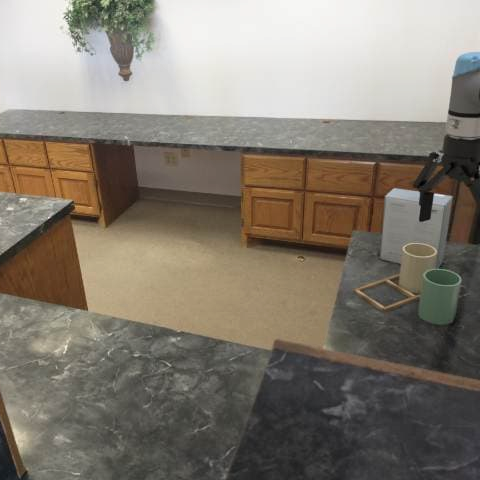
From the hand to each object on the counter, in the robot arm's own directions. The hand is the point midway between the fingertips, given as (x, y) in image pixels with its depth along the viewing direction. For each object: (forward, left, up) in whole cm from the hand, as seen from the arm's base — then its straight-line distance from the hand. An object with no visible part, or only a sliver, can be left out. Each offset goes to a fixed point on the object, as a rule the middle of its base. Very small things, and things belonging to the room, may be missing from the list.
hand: (450, 231), depth 110 cm
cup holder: (+12, -1, -24) cm, 27 cm away
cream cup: (+12, -6, -24) cm, 27 cm away
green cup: (0, 0, -24) cm, 24 cm away
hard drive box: (+24, -17, -24) cm, 38 cm away
